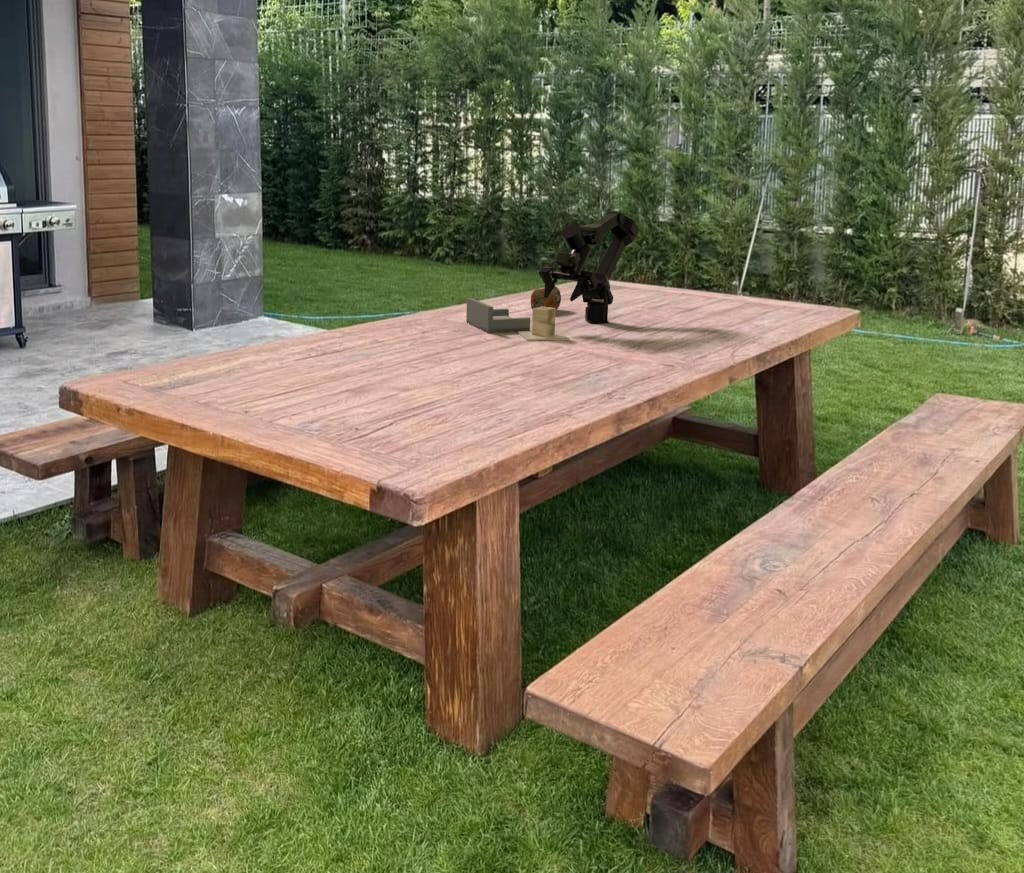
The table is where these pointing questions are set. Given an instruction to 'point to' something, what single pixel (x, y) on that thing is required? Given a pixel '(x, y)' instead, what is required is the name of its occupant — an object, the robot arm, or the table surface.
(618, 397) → the table surface
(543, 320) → the block
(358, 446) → the table surface
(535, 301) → the tin
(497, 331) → the grey walled tray
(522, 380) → the table surface
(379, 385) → the table surface
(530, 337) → the tile
